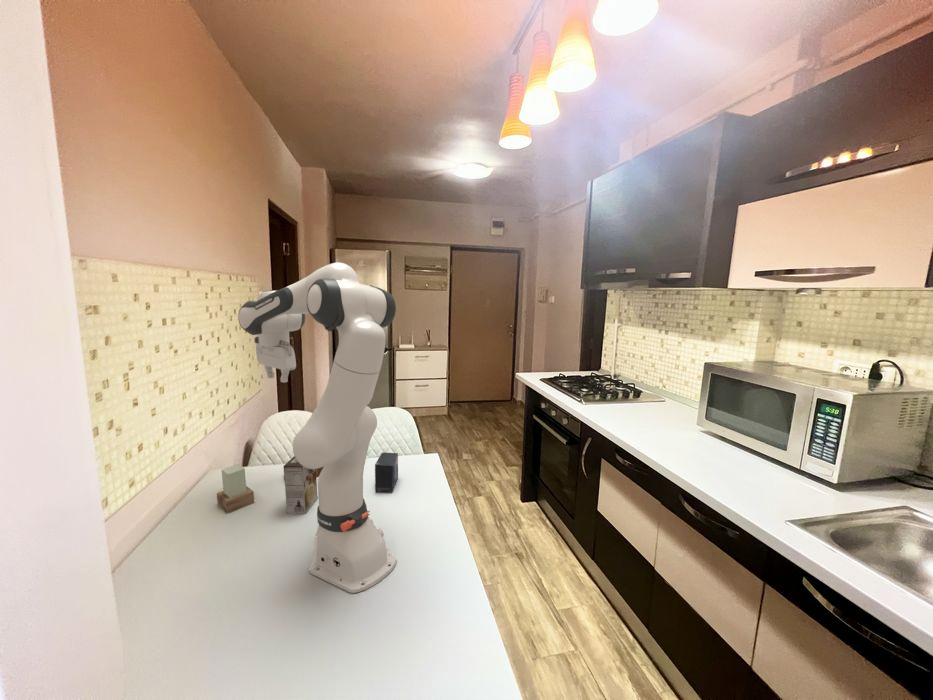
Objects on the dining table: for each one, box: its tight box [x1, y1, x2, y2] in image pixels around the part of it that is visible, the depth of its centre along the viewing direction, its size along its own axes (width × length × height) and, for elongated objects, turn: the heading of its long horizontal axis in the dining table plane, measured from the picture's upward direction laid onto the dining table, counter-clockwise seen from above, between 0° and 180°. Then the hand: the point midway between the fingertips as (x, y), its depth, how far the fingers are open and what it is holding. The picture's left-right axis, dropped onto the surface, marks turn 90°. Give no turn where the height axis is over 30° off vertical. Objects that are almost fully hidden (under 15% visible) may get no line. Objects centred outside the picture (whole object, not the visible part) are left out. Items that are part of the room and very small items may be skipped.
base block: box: [216, 485, 255, 514], centre depth 124 cm, size 8×8×4 cm
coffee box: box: [283, 456, 318, 515], centre depth 122 cm, size 9×6×16 cm
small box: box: [374, 451, 399, 494], centre depth 136 cm, size 11×6×10 cm, turn 179°
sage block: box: [221, 464, 247, 498], centre depth 123 cm, size 5×5×8 cm
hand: (277, 379), depth 129 cm, fingers open, 8 cm apart
